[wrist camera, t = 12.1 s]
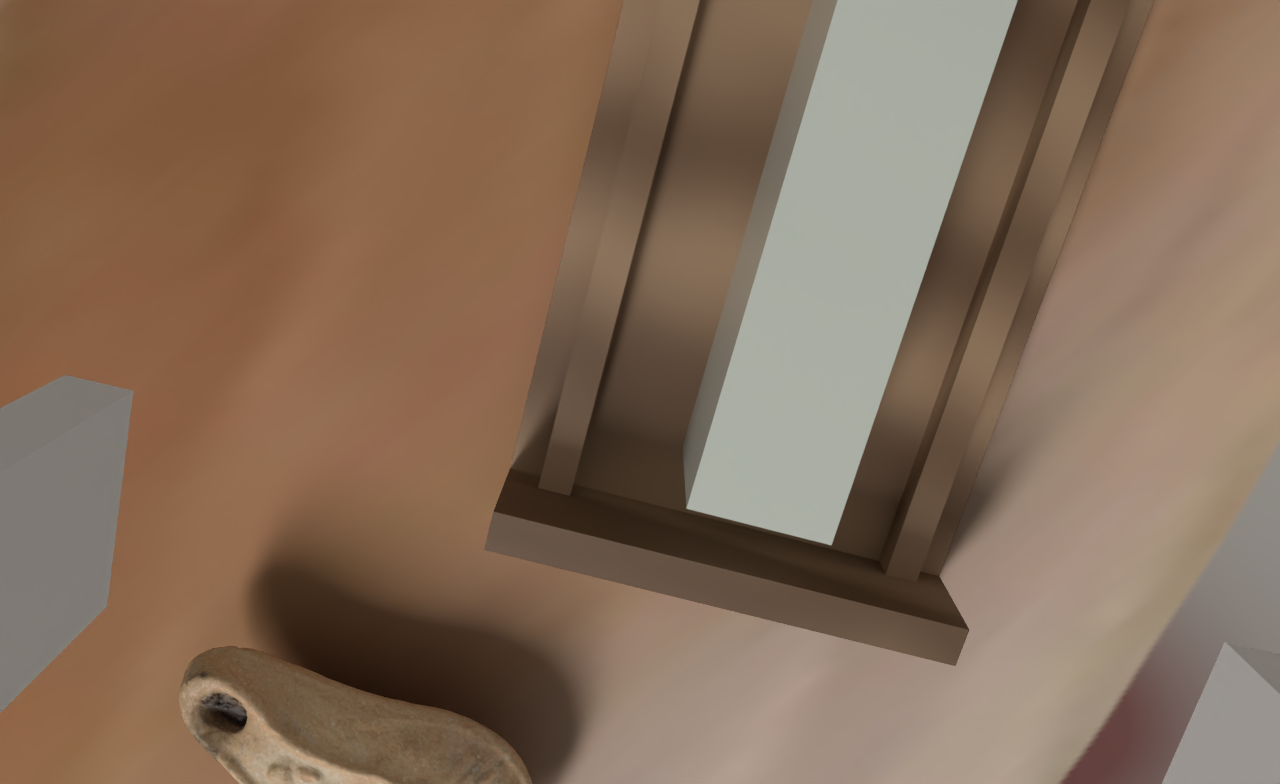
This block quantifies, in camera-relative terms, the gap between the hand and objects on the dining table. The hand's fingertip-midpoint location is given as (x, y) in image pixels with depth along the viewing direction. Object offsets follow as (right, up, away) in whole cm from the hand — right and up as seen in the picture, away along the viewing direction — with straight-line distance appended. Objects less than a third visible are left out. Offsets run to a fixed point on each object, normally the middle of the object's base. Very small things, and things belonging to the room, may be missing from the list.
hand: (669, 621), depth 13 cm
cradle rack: (+5, +8, +20) cm, 22 cm away
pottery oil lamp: (-9, -9, +25) cm, 28 cm away
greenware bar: (+5, +8, +19) cm, 21 cm away
